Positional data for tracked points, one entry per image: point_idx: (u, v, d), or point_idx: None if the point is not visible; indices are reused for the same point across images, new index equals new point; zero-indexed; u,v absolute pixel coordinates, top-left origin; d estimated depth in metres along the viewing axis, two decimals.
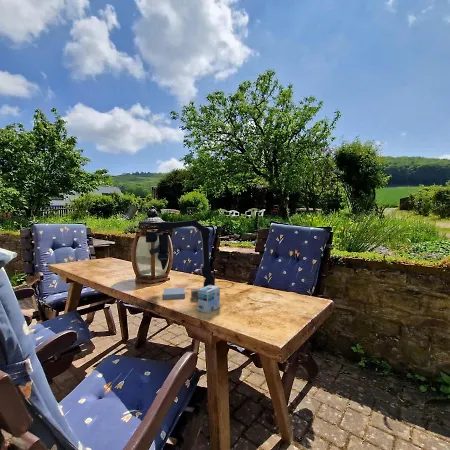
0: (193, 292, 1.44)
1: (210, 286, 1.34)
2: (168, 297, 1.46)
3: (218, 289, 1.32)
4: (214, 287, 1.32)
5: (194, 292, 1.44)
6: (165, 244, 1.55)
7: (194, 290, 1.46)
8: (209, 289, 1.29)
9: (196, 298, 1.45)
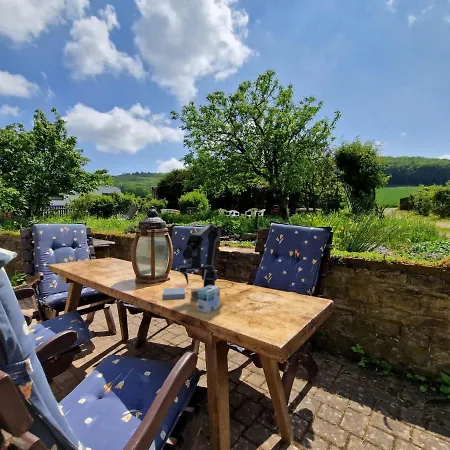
0: (193, 292, 1.44)
1: (210, 286, 1.34)
2: (168, 297, 1.46)
3: (218, 289, 1.32)
4: (214, 287, 1.32)
5: (194, 292, 1.44)
6: (191, 258, 1.44)
7: (194, 290, 1.46)
8: (209, 289, 1.29)
9: (196, 298, 1.45)
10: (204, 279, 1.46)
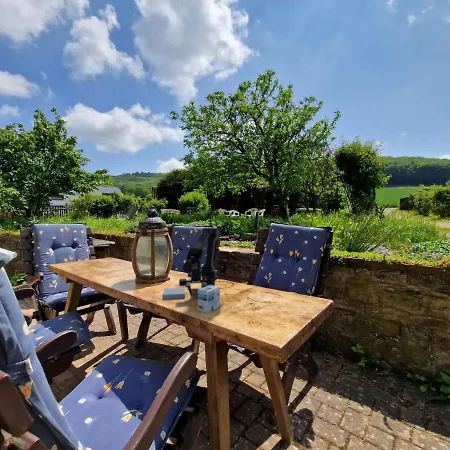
0: (193, 292, 1.44)
1: (210, 286, 1.34)
2: (168, 297, 1.46)
3: (218, 289, 1.32)
4: (214, 287, 1.32)
5: (194, 292, 1.44)
6: (191, 271, 1.45)
7: (194, 290, 1.46)
8: (209, 289, 1.29)
9: (196, 298, 1.45)
10: None
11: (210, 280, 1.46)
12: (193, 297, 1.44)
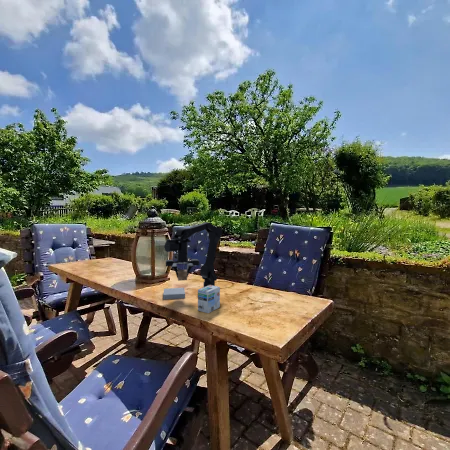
0: (180, 273, 1.47)
1: (210, 286, 1.34)
2: (168, 297, 1.46)
3: (218, 289, 1.32)
4: (214, 287, 1.32)
5: (180, 272, 1.47)
6: (178, 252, 1.47)
7: (180, 271, 1.48)
8: (209, 289, 1.29)
9: (182, 278, 1.47)
10: (187, 273, 1.49)
11: (196, 261, 1.49)
12: (179, 277, 1.47)
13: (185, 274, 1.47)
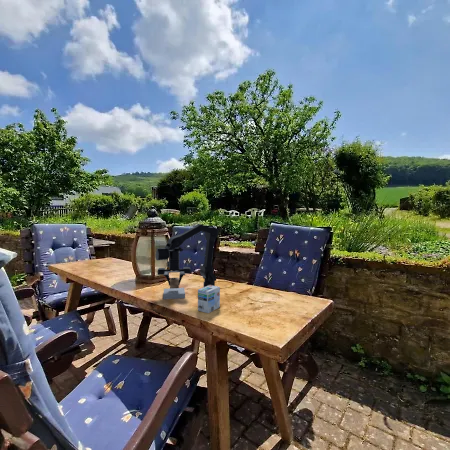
0: (171, 281, 1.49)
1: (210, 286, 1.34)
2: (168, 297, 1.46)
3: (218, 289, 1.32)
4: (214, 287, 1.32)
5: (172, 280, 1.49)
6: (169, 260, 1.50)
7: (172, 279, 1.51)
8: (209, 289, 1.29)
9: (174, 286, 1.50)
10: None
11: (188, 269, 1.51)
12: (171, 285, 1.49)
13: (177, 282, 1.50)
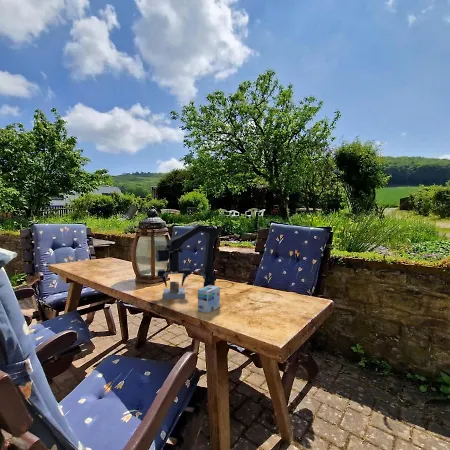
0: (171, 285, 1.49)
1: (210, 286, 1.34)
2: (168, 297, 1.46)
3: (218, 289, 1.32)
4: (214, 287, 1.32)
5: (172, 284, 1.49)
6: (169, 262, 1.50)
7: (172, 283, 1.51)
8: (209, 289, 1.29)
9: (174, 290, 1.50)
10: (182, 282, 1.52)
11: (188, 271, 1.51)
12: (171, 290, 1.49)
13: (177, 286, 1.50)
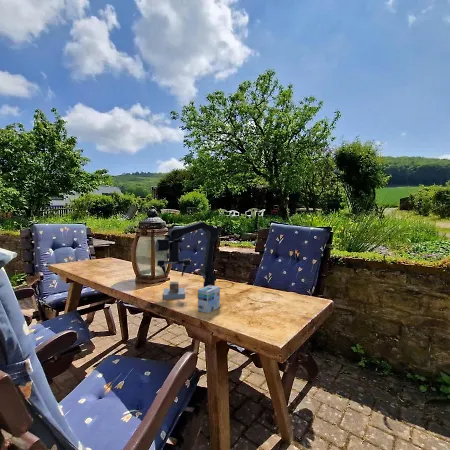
0: (171, 285, 1.49)
1: (210, 286, 1.34)
2: (168, 297, 1.46)
3: (218, 289, 1.32)
4: (214, 287, 1.32)
5: (171, 284, 1.49)
6: (169, 252, 1.50)
7: (172, 283, 1.51)
8: (209, 289, 1.29)
9: (174, 290, 1.50)
10: (182, 272, 1.51)
11: (187, 261, 1.50)
12: (171, 290, 1.49)
13: (176, 286, 1.50)
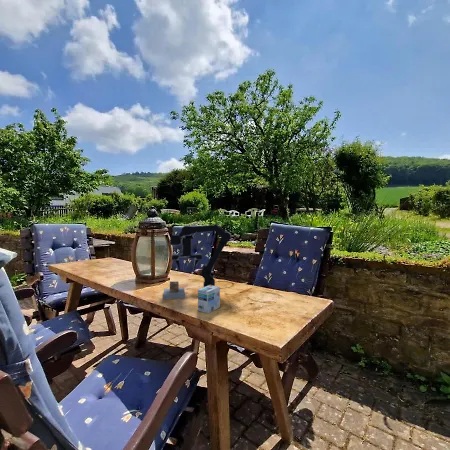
0: (171, 285, 1.49)
1: (210, 286, 1.34)
2: (168, 297, 1.46)
3: (218, 289, 1.32)
4: (214, 287, 1.32)
5: (172, 284, 1.49)
6: (182, 247, 1.63)
7: (172, 283, 1.51)
8: (209, 289, 1.29)
9: (174, 290, 1.50)
10: (194, 266, 1.65)
11: (199, 255, 1.64)
12: (171, 289, 1.49)
13: (176, 286, 1.50)
